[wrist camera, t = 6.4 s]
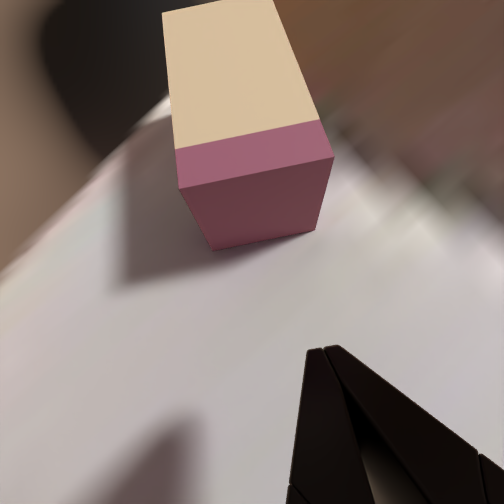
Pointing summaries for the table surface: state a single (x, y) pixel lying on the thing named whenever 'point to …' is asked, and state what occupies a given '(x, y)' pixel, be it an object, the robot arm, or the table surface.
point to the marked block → (243, 124)
